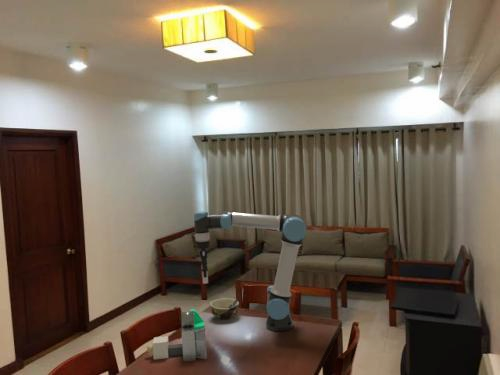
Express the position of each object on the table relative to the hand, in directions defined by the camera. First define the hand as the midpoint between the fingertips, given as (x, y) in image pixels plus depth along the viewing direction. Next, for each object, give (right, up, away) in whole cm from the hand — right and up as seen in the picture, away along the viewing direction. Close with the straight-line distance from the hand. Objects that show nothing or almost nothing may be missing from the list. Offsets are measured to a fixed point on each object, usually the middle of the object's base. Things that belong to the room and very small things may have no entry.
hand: (205, 279), depth 225 cm
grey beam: (-12, -33, -16) cm, 39 cm away
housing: (-3, -33, -15) cm, 36 cm away
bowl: (+9, -30, +30) cm, 43 cm away
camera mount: (-8, -32, +15) cm, 36 cm away
